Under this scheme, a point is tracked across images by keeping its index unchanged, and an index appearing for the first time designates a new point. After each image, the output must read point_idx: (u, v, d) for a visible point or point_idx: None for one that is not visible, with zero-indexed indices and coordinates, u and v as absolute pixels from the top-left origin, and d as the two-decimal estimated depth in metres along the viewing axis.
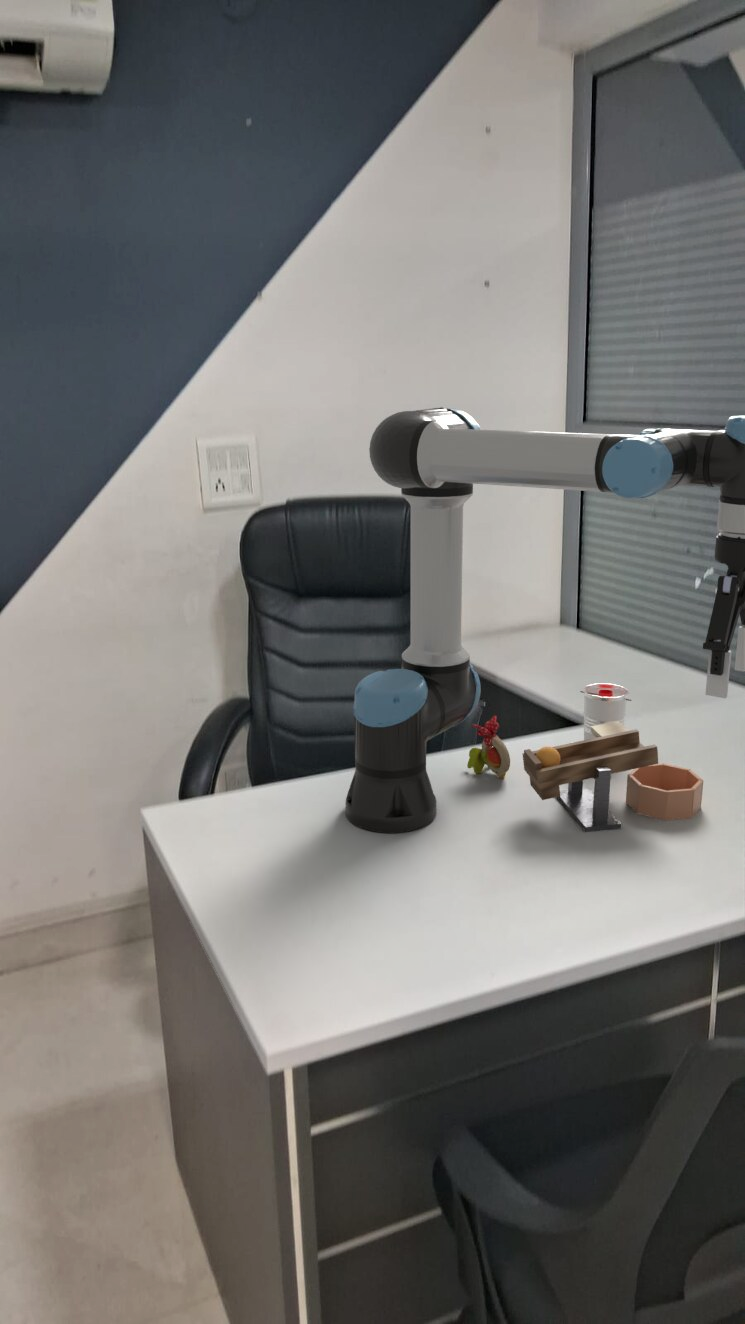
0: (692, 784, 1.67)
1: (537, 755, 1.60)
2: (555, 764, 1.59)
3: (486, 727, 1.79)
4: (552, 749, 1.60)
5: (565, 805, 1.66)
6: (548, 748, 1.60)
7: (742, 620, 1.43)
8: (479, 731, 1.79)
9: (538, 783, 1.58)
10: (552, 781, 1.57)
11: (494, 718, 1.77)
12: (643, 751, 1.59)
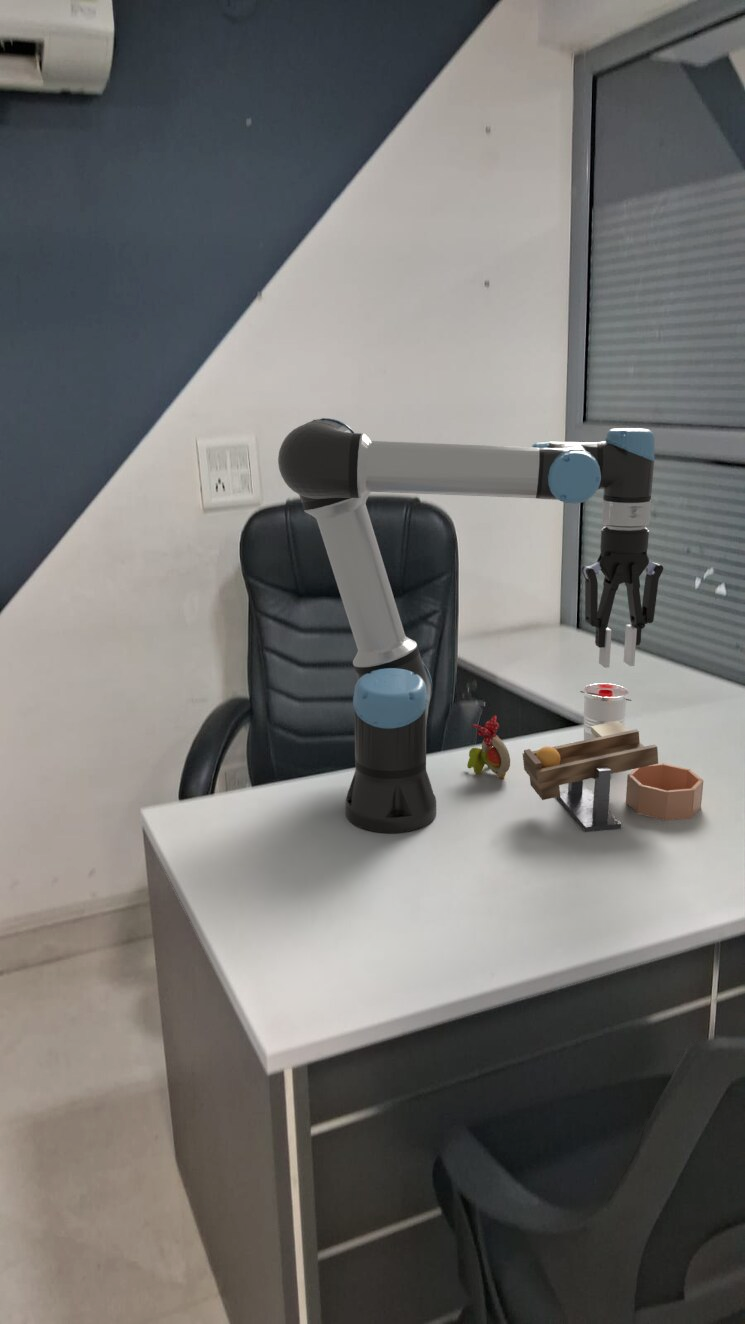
0: (692, 784, 1.67)
1: (537, 755, 1.60)
2: (555, 764, 1.59)
3: (486, 727, 1.79)
4: (552, 749, 1.60)
5: (565, 805, 1.66)
6: (548, 748, 1.60)
7: (630, 616, 1.66)
8: (479, 731, 1.79)
9: (538, 783, 1.58)
10: (552, 781, 1.57)
11: (494, 718, 1.77)
12: (643, 751, 1.59)
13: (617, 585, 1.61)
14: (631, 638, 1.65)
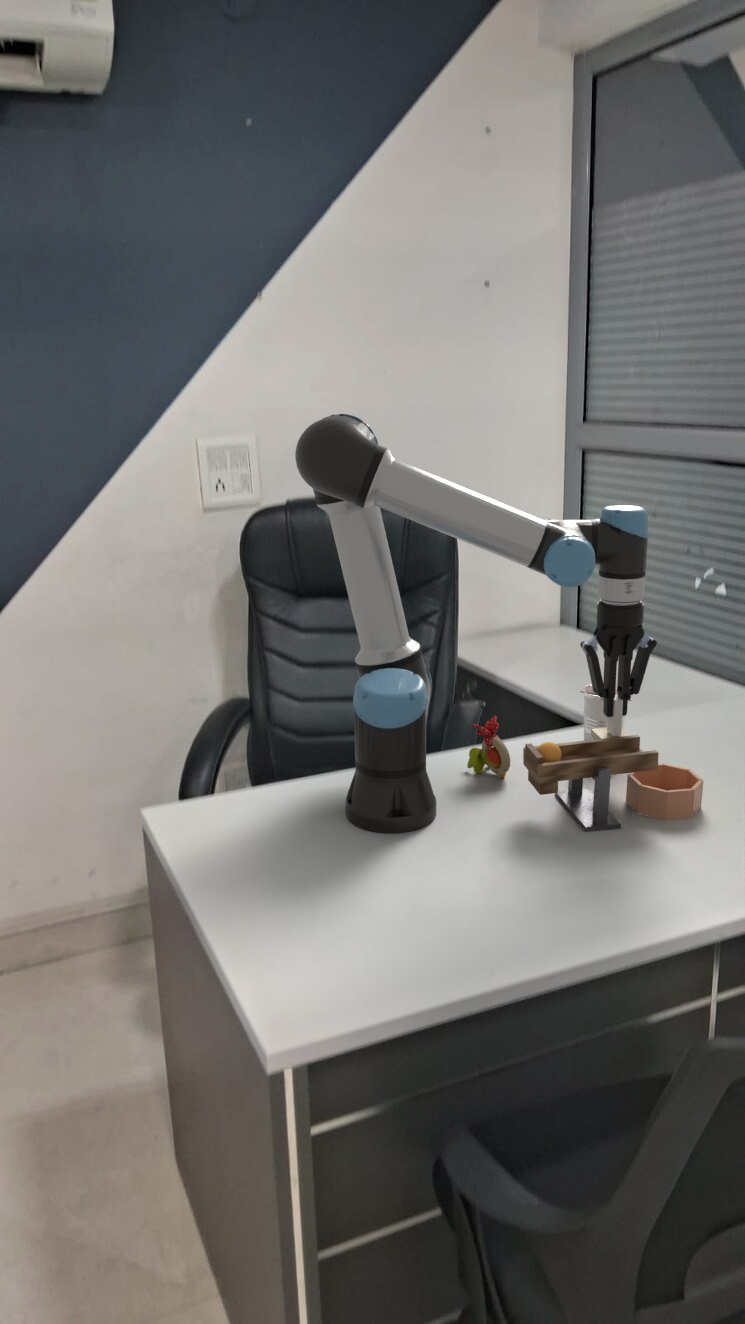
0: (692, 784, 1.67)
1: (539, 750, 1.60)
2: (556, 760, 1.59)
3: (486, 727, 1.79)
4: (554, 745, 1.59)
5: (565, 805, 1.66)
6: (550, 744, 1.59)
7: (617, 686, 1.69)
8: (479, 731, 1.79)
9: (538, 777, 1.57)
10: (552, 776, 1.57)
11: (494, 718, 1.77)
12: (644, 755, 1.59)
13: (617, 657, 1.65)
14: None
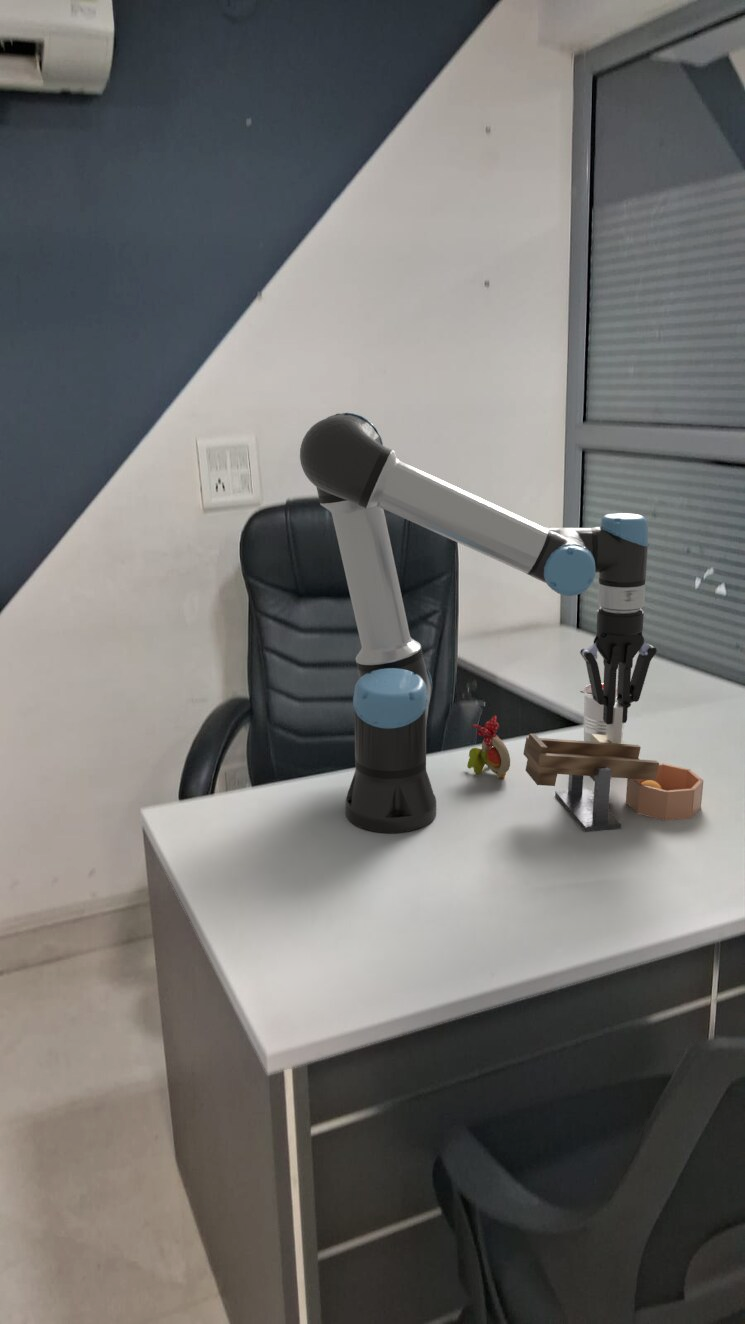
0: (692, 784, 1.67)
1: None
2: None
3: (486, 727, 1.79)
4: None
5: (565, 805, 1.66)
6: None
7: (617, 693, 1.70)
8: (479, 731, 1.79)
9: (538, 766, 1.57)
10: (552, 768, 1.57)
11: (494, 718, 1.77)
12: (645, 763, 1.59)
13: (617, 665, 1.65)
14: None
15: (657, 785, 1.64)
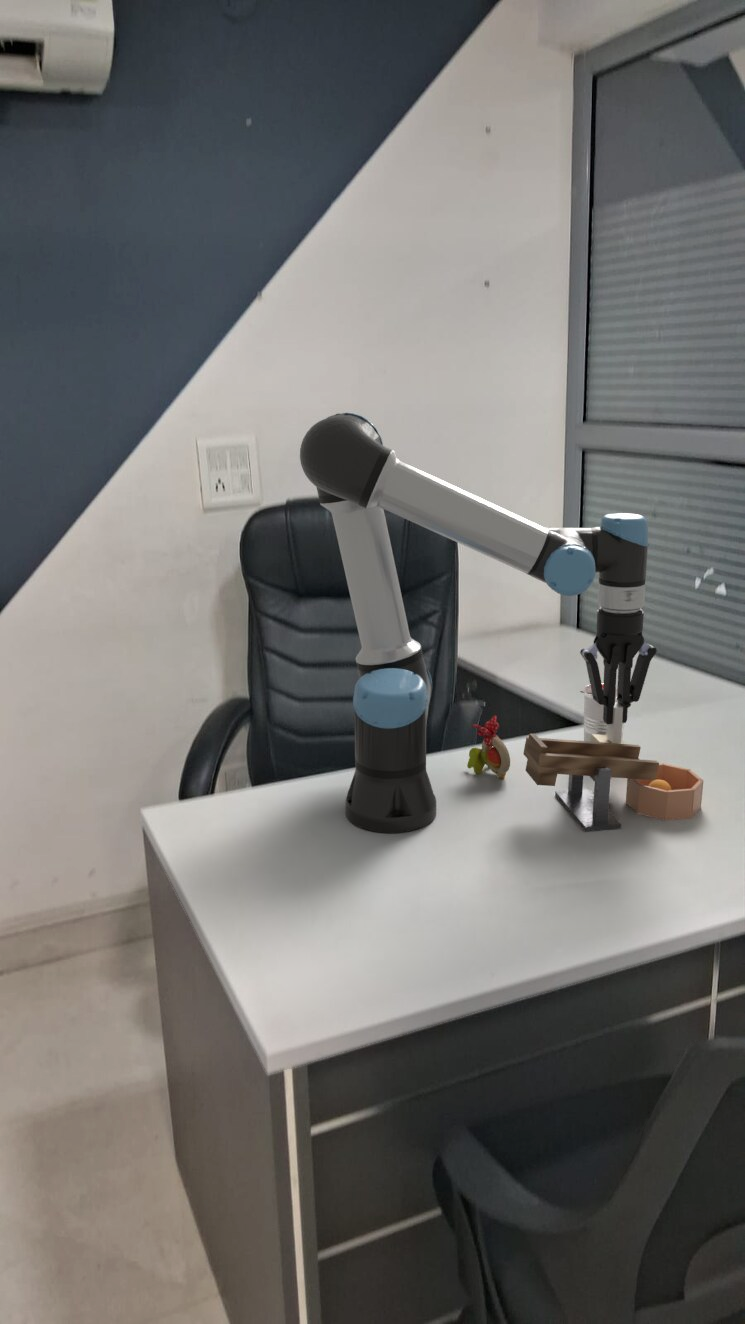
0: (692, 784, 1.67)
1: None
2: None
3: (486, 727, 1.79)
4: None
5: (565, 805, 1.66)
6: None
7: (617, 693, 1.70)
8: (479, 731, 1.79)
9: (538, 766, 1.57)
10: (552, 768, 1.57)
11: (494, 718, 1.77)
12: (645, 763, 1.59)
13: (617, 665, 1.65)
14: None
15: None
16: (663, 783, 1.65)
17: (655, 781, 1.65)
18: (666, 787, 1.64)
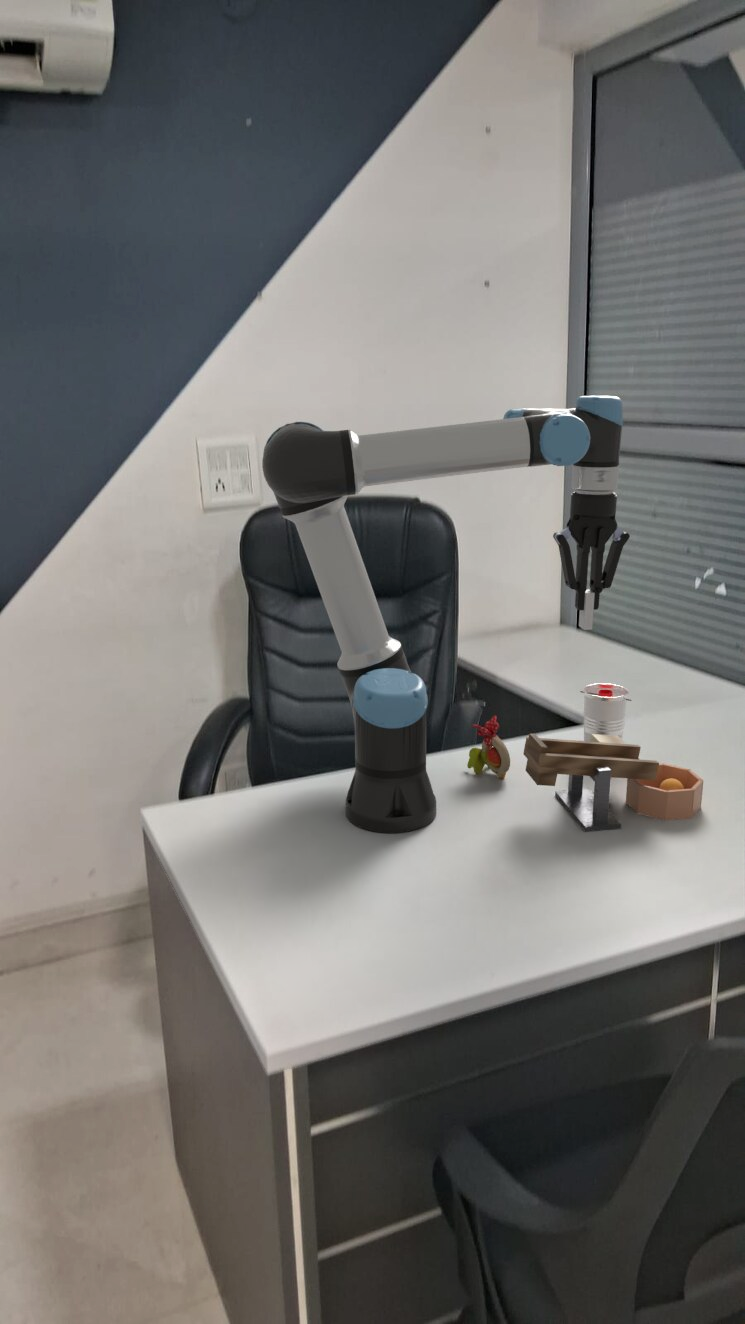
0: (692, 784, 1.67)
1: None
2: None
3: (486, 727, 1.79)
4: None
5: (565, 805, 1.66)
6: None
7: (590, 580, 1.71)
8: (479, 731, 1.79)
9: (538, 766, 1.57)
10: (552, 768, 1.57)
11: (494, 718, 1.77)
12: (645, 763, 1.59)
13: (589, 548, 1.66)
14: None
15: None
16: (683, 788, 1.65)
17: (679, 781, 1.66)
18: None
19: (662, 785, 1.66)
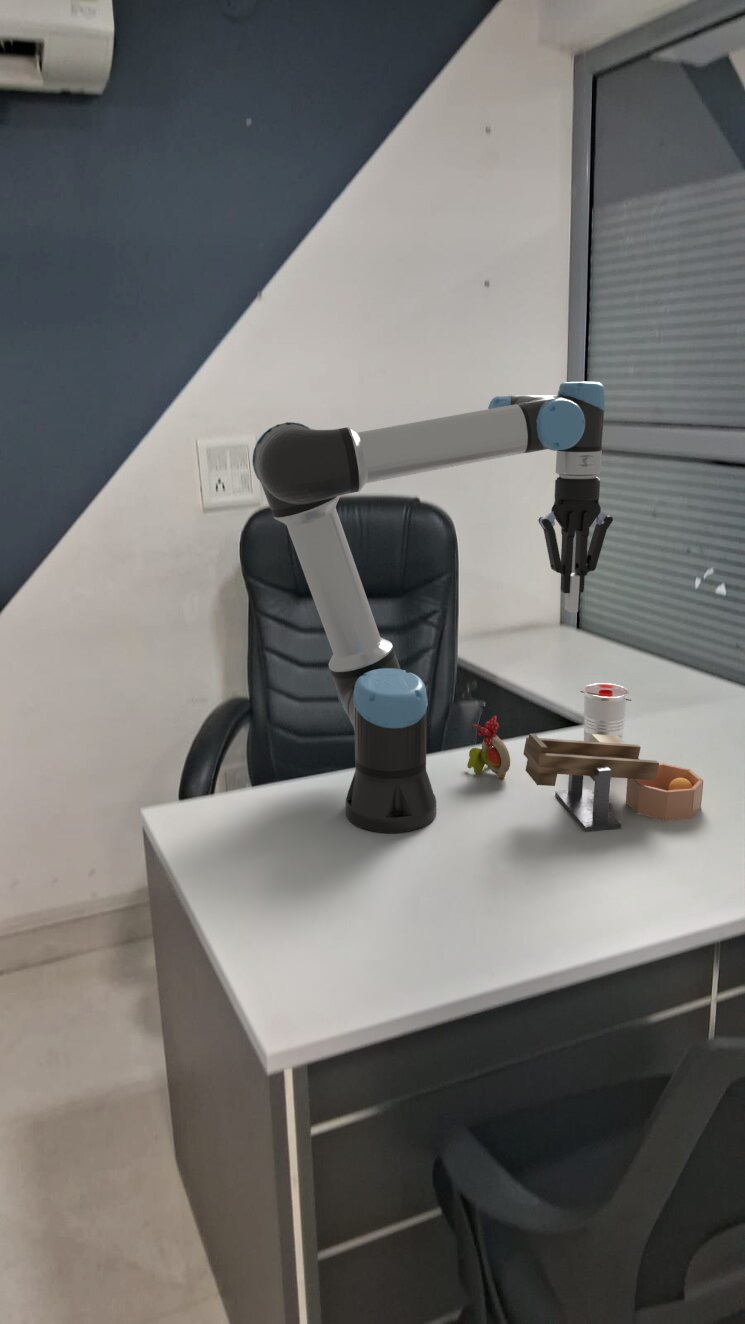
0: (692, 784, 1.67)
1: None
2: None
3: (486, 727, 1.79)
4: (678, 782, 1.65)
5: (565, 805, 1.66)
6: (674, 783, 1.66)
7: (575, 564, 1.74)
8: (479, 731, 1.79)
9: (538, 766, 1.57)
10: (552, 768, 1.57)
11: (494, 718, 1.77)
12: (645, 763, 1.59)
13: (574, 532, 1.69)
14: None
15: None
16: None
17: None
18: None
19: (679, 779, 1.66)
